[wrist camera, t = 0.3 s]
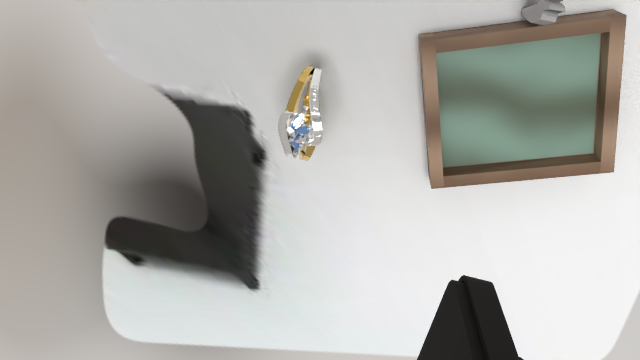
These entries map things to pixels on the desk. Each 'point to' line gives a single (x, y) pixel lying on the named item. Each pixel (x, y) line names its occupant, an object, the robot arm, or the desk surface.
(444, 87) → the jewellery tray
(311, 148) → the ring
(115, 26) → the desk surface
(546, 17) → the caliper
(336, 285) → the desk surface
